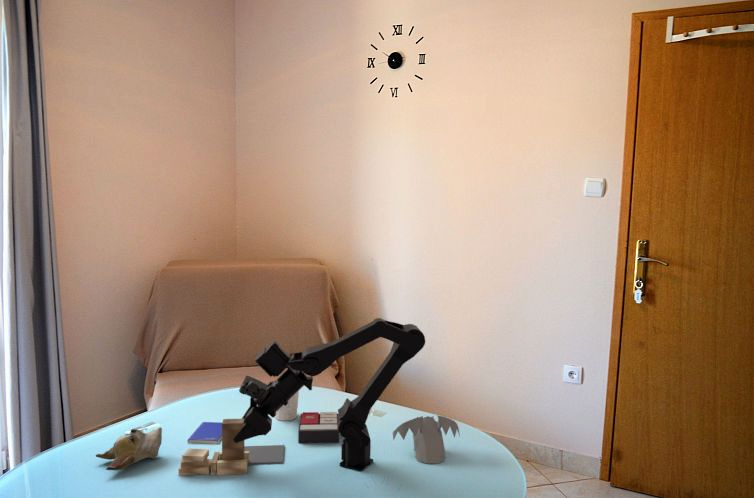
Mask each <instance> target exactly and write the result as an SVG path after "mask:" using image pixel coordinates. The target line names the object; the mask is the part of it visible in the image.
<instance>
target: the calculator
mask: <svg viewBox="0 0 754 498" xmlns="http://www.w3.org/2000/svg"><path fill="white" fill-rule="evenodd" d="M337 412H338V411H321V412H320V413H319V412H318V411H313V412H311V411H309V412H308V411H307V412H302V413H300V416H299V425H298V430H297V431H298V432H297V433H298V434H297V437H298V438H297V439H298V440H297V442H298V443H297V444H303V445H304V444H339V443H340V433H339V429H338V422H337V416H338V413H337Z"/></svg>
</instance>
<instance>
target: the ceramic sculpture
mask: <svg viewBox="0 0 754 498" xmlns="http://www.w3.org/2000/svg"><path fill="white" fill-rule="evenodd" d="M162 428H163V427H158V428H156V429H152V430H150V431H149V432H143V431H142V430H141V429H137V428H136V429H135V428H133V429H131V430H130V432H129V433H126V434H124V435H120V436H119V437H118V438H117V439H116V441H115V442H114V443H113V446H112V447H110V449H109V450H105V452H103V453H96V454H95V457H96V458H100V459H102V460H110V461H111V460H112V462H111V463H110V465H109V466H108V467H107V466H106V468H105V470H106V471H118V470H119V471H120V470H123V469H126V468H127V467H129V466H131V465H134V464H135V463H138V462H140V461H142V460H144V459H147V458H151V459H156V458H157V457H158V456H159V450H160V447H161V445H162V442H163V441H162V439H163V436H162V435H163V433H162V432H163V429H162Z"/></svg>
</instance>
